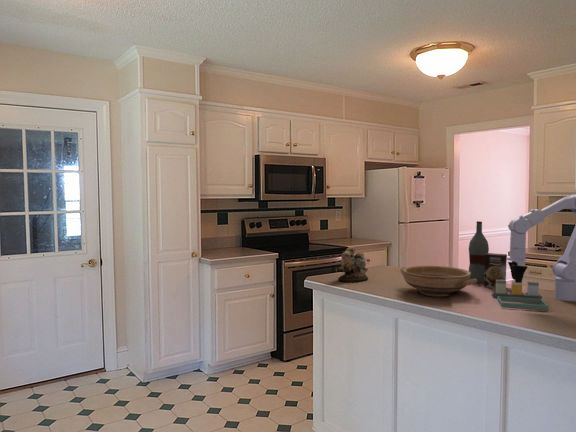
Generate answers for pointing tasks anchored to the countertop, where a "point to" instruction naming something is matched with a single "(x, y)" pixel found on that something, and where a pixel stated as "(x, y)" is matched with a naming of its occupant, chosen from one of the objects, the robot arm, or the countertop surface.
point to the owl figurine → (353, 266)
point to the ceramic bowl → (437, 279)
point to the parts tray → (518, 305)
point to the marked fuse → (516, 288)
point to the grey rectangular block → (532, 288)
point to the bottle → (478, 254)
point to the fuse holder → (508, 294)
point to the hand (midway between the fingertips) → (516, 280)
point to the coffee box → (494, 269)
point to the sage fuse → (501, 286)
